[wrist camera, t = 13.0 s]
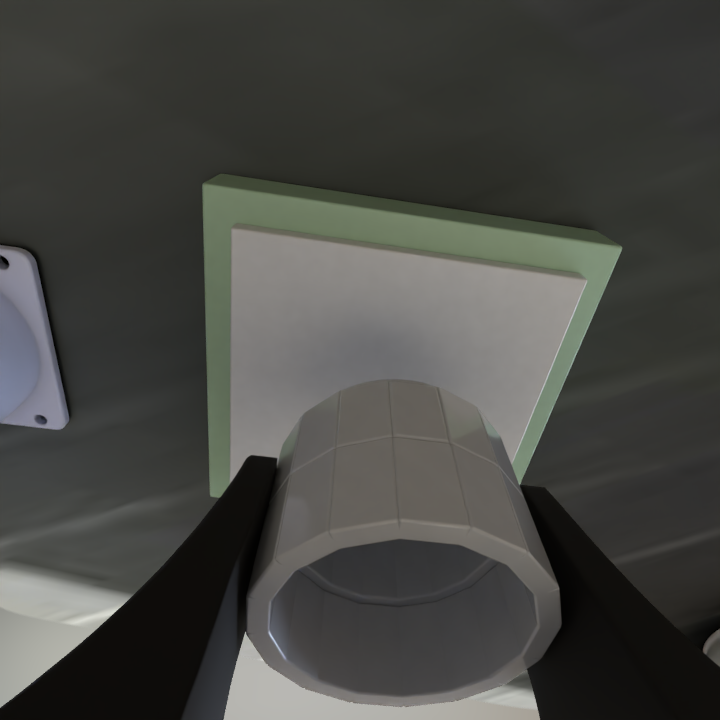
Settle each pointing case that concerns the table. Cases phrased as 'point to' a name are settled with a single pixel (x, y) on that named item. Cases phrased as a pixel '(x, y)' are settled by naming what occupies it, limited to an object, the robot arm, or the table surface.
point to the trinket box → (713, 647)
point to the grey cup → (399, 553)
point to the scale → (384, 309)
